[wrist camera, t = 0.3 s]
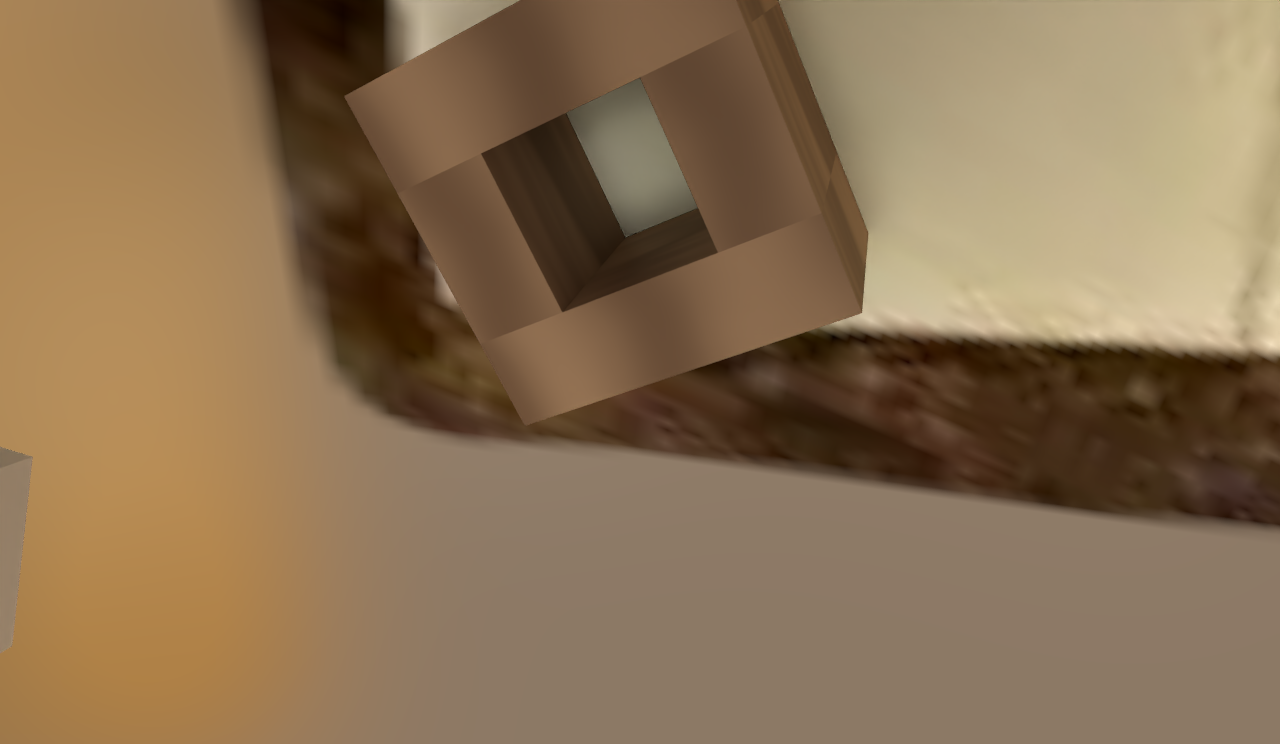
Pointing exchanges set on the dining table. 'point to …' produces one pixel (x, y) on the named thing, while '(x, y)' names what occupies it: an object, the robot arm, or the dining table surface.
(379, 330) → the dining table surface
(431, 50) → the hole block
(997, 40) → the dining table surface
